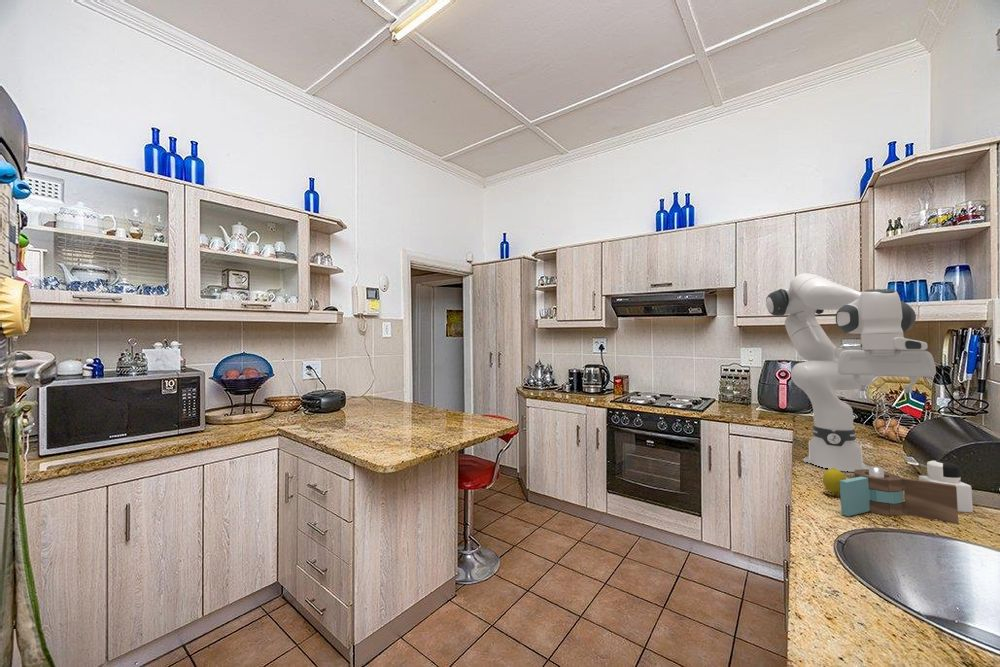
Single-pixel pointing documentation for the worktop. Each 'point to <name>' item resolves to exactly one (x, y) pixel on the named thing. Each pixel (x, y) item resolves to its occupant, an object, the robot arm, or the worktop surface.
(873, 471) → the steel pin
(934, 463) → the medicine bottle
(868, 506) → the hinge swing leaf
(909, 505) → the hinge fixed leaf
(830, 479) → the lemon
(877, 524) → the worktop surface
